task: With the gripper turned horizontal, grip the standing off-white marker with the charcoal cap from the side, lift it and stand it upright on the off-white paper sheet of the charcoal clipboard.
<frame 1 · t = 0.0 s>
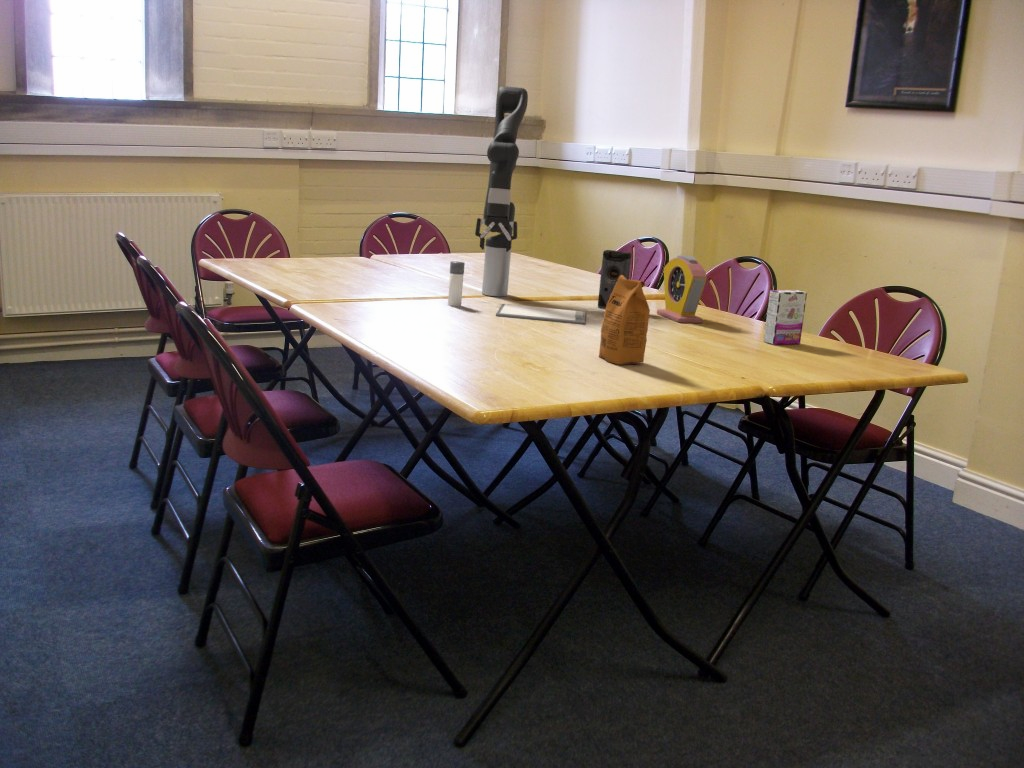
hand: (494, 250, 335), 17 cm above the table, tool pointing down, fingers open, 8 cm apart
coffee package: (620, 361, 257), on the table
yellow desk clock: (679, 319, 334), on the table
electronic device: (611, 309, 343), on the table
marker: (454, 305, 322), on the table
candy bar box: (781, 343, 303), on the table
clipboard: (541, 314, 318), on the table
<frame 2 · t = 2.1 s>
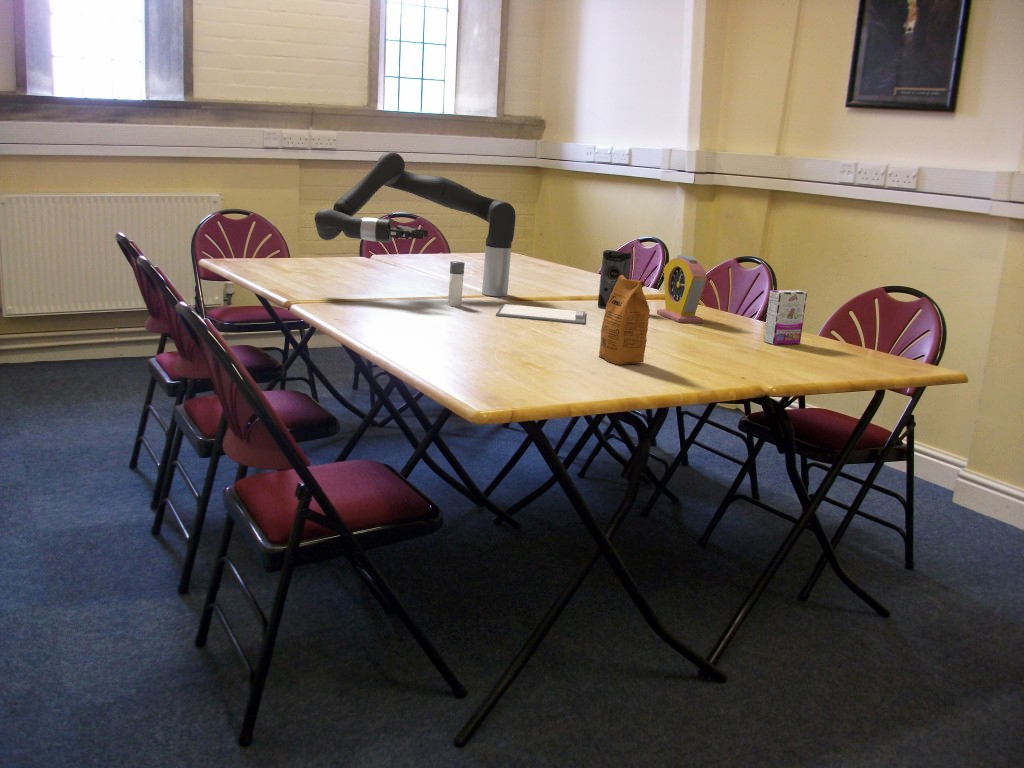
hand: (425, 234, 317), 22 cm above the table, tool horizontal, fingers open, 8 cm apart
nothing on the table moved.
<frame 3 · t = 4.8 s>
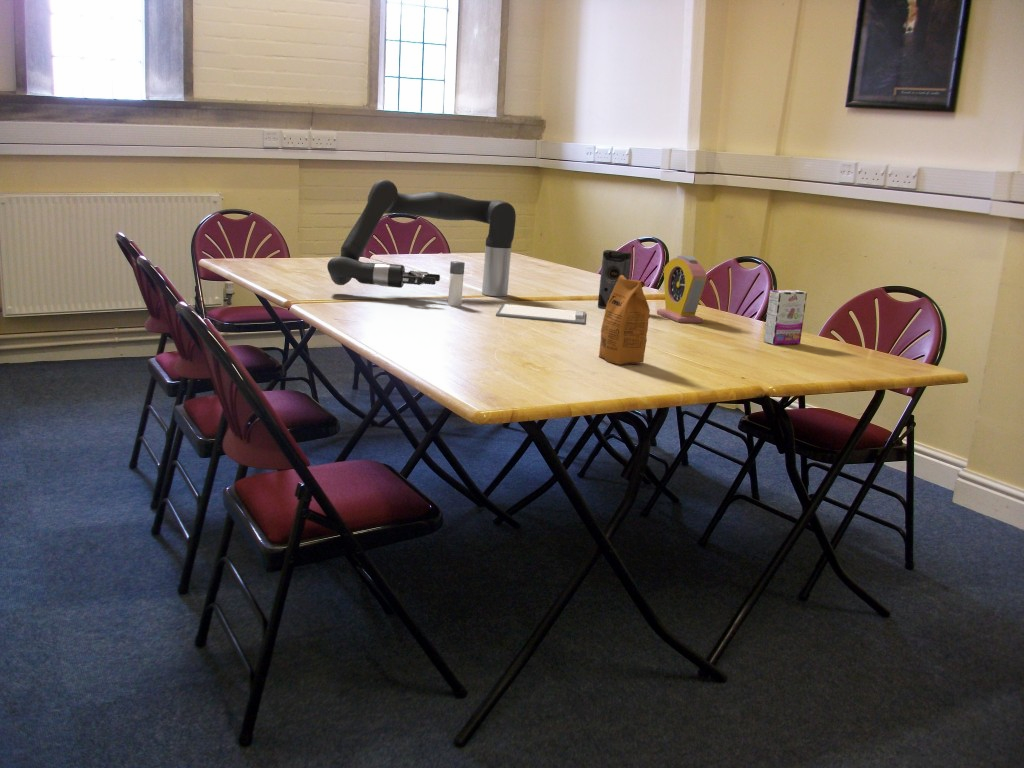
hand: (437, 279, 321), 8 cm above the table, tool horizontal, fingers open, 8 cm apart
nothing on the table moved.
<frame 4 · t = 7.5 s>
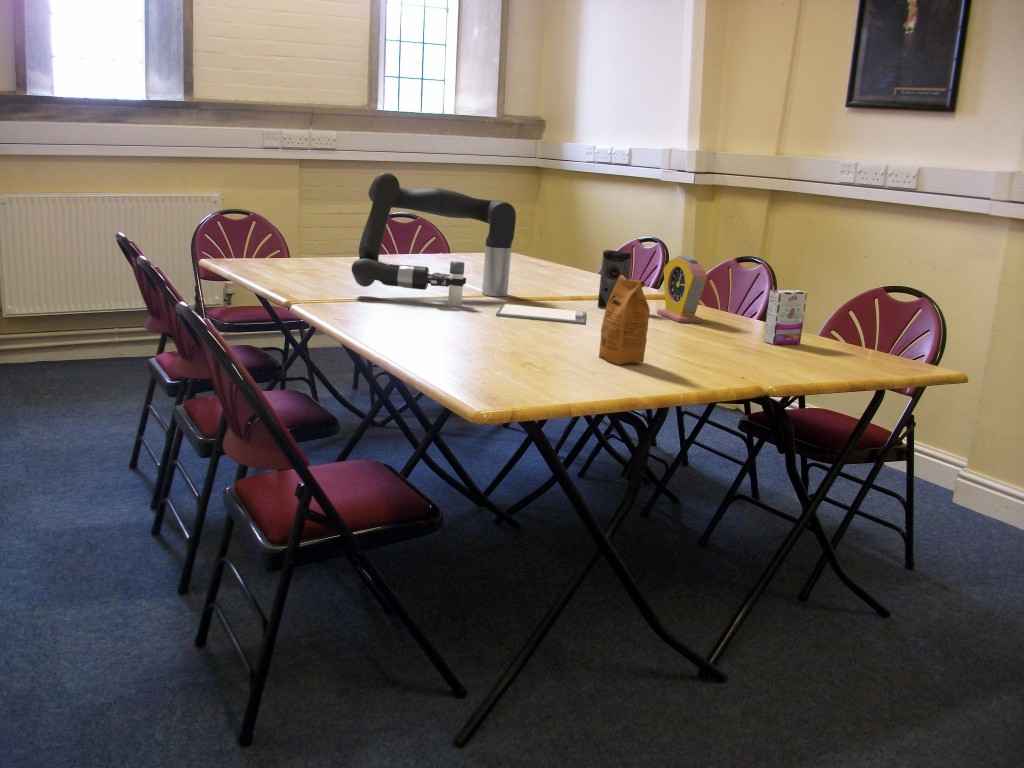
hand: (464, 281, 320), 8 cm above the table, tool horizontal, fingers closed on marker, 4 cm apart
marker: (454, 305, 322), on the table, touching gripper
everything else where it was.
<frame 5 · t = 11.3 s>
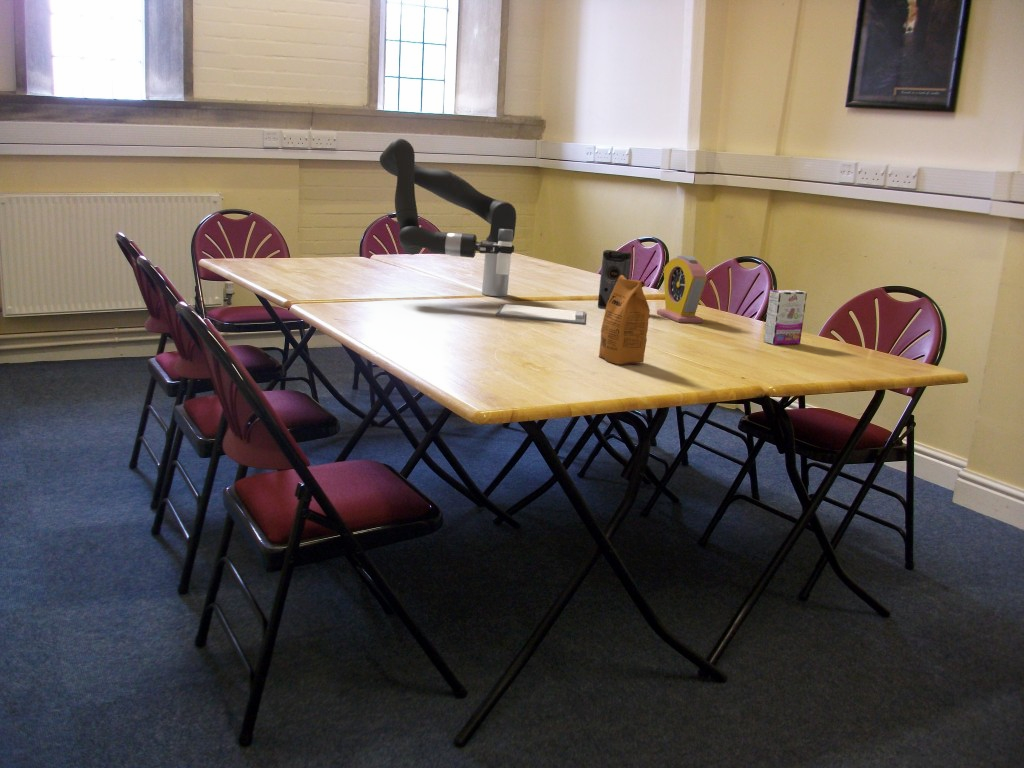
hand: (513, 249, 315), 20 cm above the table, tool horizontal, fingers closed on marker, 4 cm apart
marker: (502, 273, 317), point 12 cm above the table, touching gripper
everything else where it was.
when the fingers open (10 cm above the table, at t = 15.5 s): marker stays where it is, resting on clipboard.
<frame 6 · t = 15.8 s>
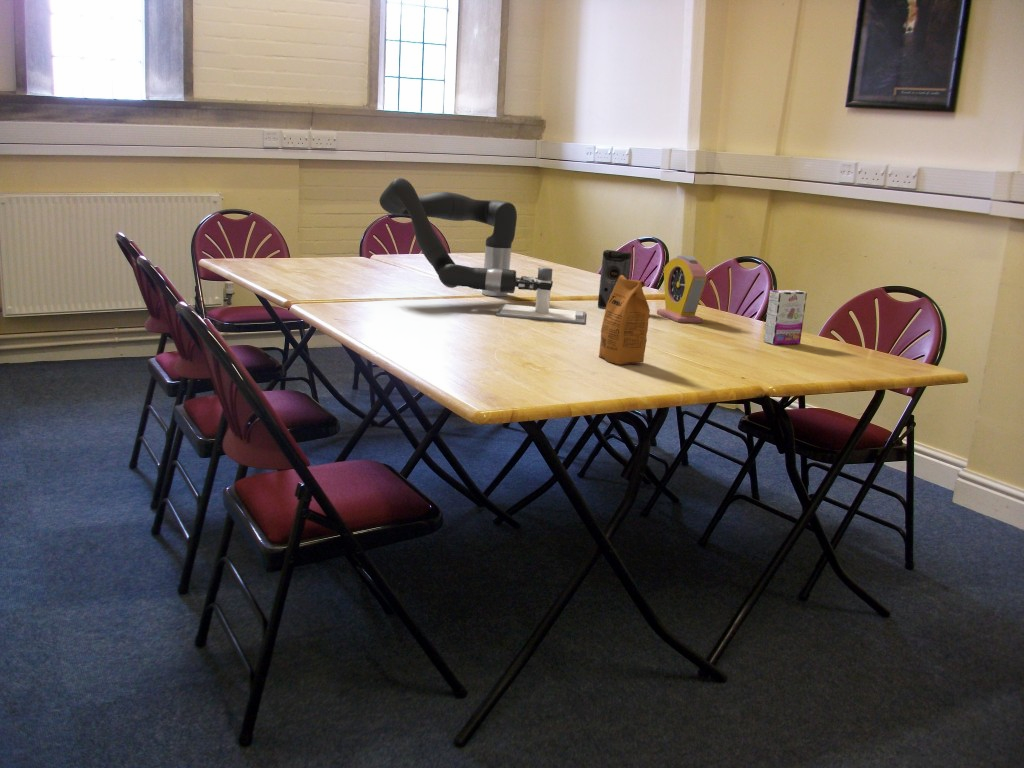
hand: (551, 285, 316), 10 cm above the table, tool horizontal, fingers open, 6 cm apart
marker: (542, 312, 318), point 1 cm above the table, touching clipboard
everything else where it was.
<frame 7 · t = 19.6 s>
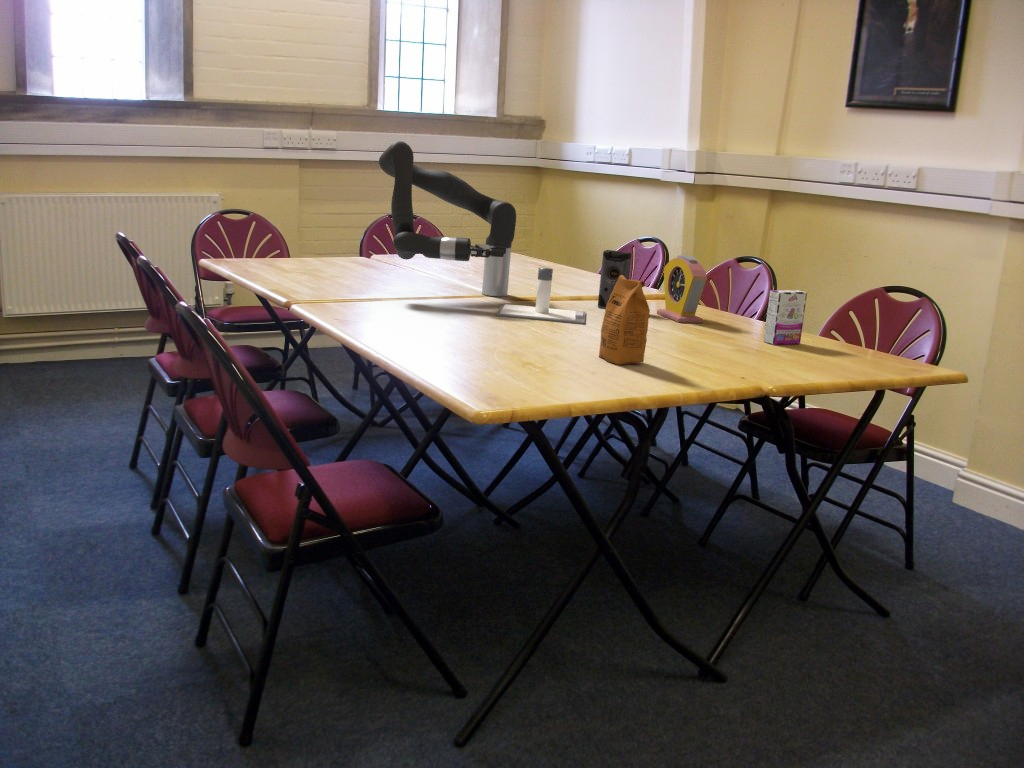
hand: (504, 252, 317), 19 cm above the table, tool horizontal, fingers open, 8 cm apart
nothing on the table moved.
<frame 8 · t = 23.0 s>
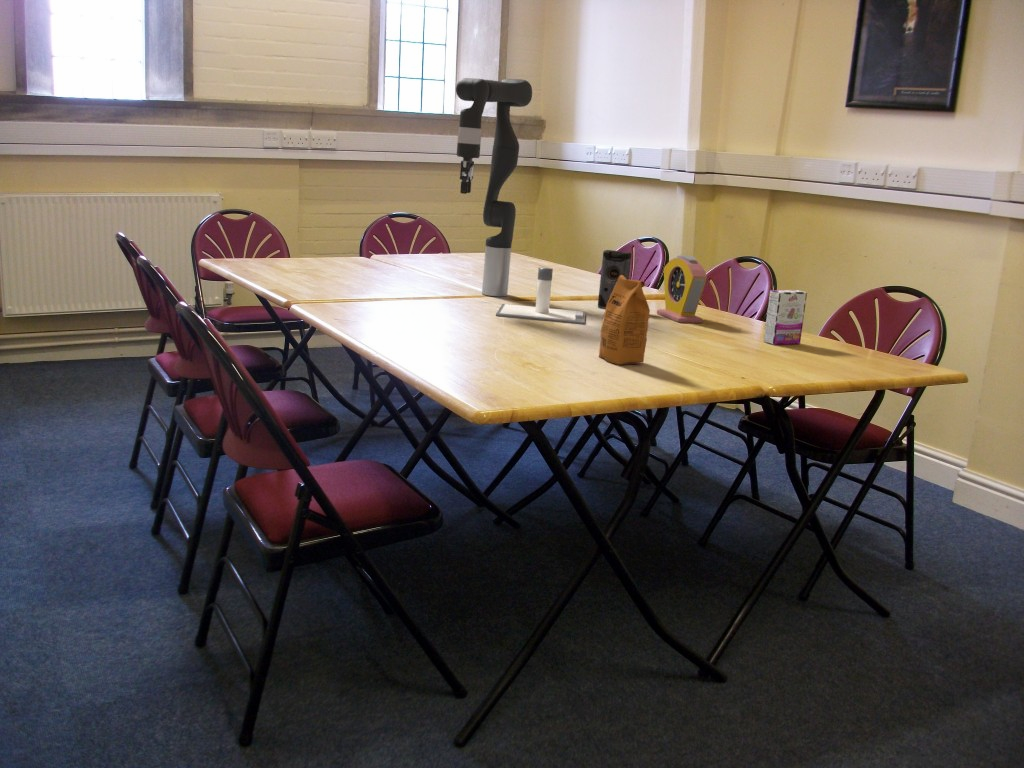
hand: (465, 193, 321), 36 cm above the table, tool pointing down, fingers open, 8 cm apart
nothing on the table moved.
at the end: marker inside the target area on the clipboard (0.1 cm from its centre), point 0.9 cm above the clipboard's base; marker tilted 1°; the gripper is holding nothing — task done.
